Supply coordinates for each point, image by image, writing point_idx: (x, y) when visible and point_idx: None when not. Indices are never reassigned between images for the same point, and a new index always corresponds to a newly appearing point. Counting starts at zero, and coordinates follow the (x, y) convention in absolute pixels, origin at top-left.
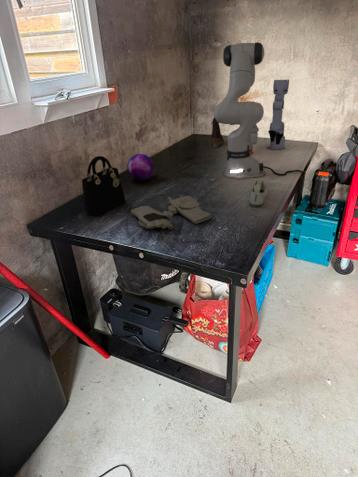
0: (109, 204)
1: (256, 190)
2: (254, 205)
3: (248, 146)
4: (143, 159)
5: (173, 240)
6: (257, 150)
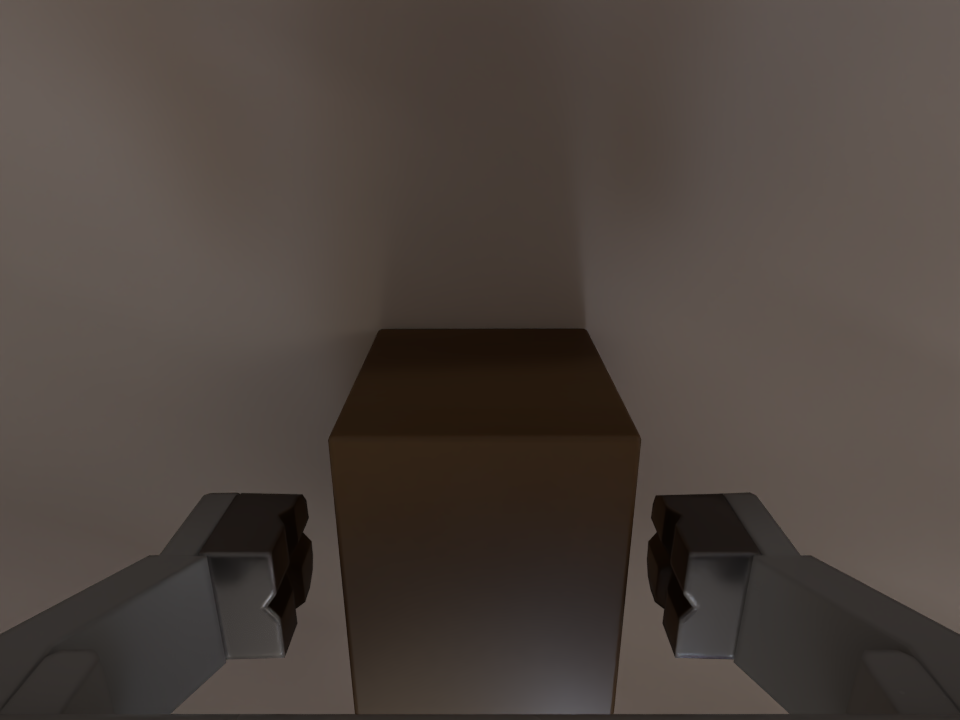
0: None
1: None
2: None
3: (607, 622)
4: None
5: None
6: (378, 14)
